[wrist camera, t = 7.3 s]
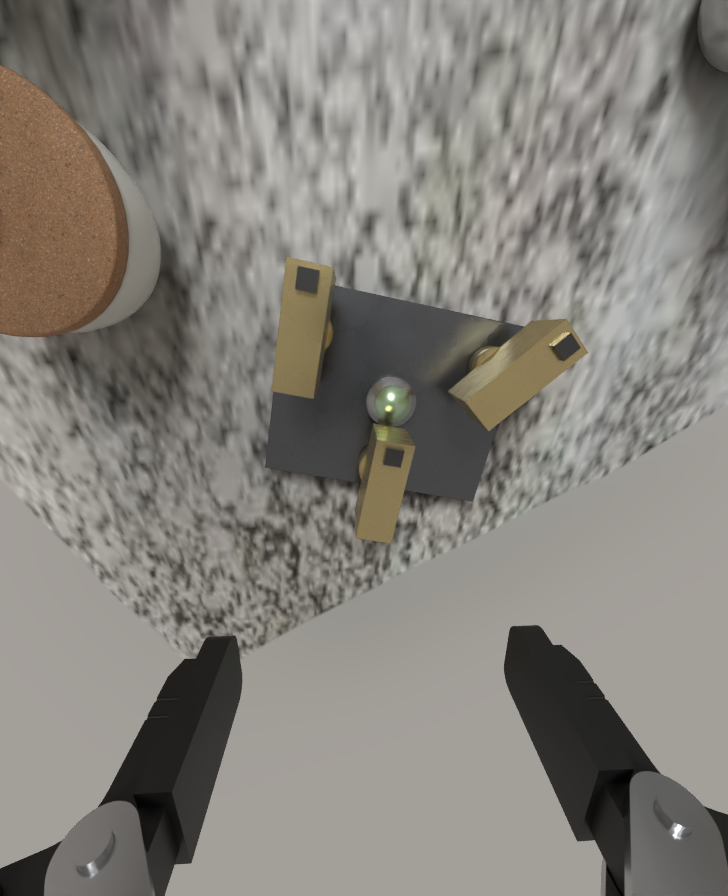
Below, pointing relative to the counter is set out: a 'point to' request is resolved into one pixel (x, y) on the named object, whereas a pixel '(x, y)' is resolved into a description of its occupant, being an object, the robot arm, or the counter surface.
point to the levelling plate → (390, 394)
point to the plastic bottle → (714, 32)
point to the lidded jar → (66, 222)
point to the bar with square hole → (382, 482)
